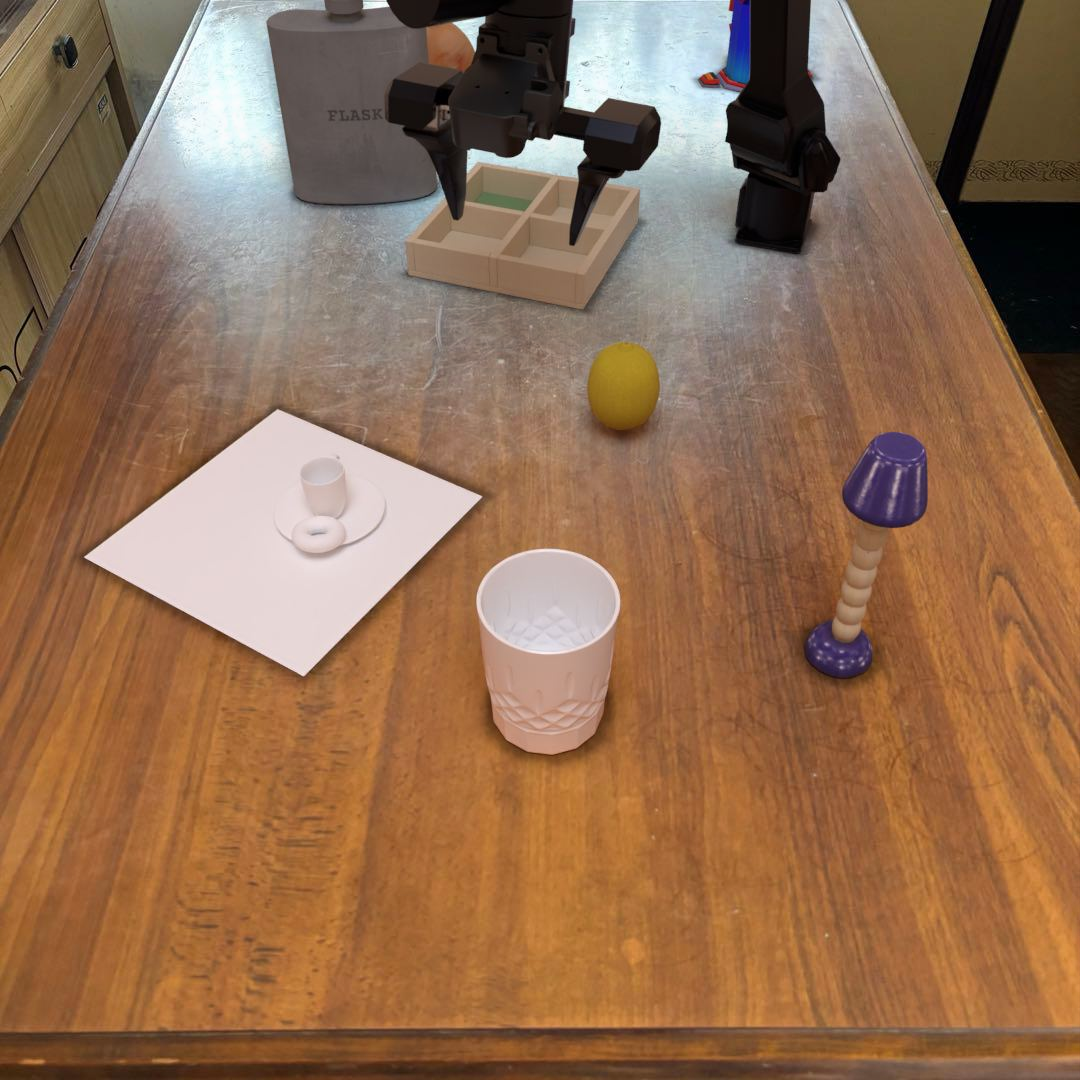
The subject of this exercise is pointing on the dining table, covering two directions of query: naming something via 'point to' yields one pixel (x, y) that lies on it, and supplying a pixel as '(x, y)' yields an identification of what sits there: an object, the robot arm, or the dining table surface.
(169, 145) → the dining table surface
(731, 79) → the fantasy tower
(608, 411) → the lemon
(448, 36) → the onion
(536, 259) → the tray
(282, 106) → the flask
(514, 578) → the white cup
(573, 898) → the dining table surface
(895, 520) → the toy lamp
